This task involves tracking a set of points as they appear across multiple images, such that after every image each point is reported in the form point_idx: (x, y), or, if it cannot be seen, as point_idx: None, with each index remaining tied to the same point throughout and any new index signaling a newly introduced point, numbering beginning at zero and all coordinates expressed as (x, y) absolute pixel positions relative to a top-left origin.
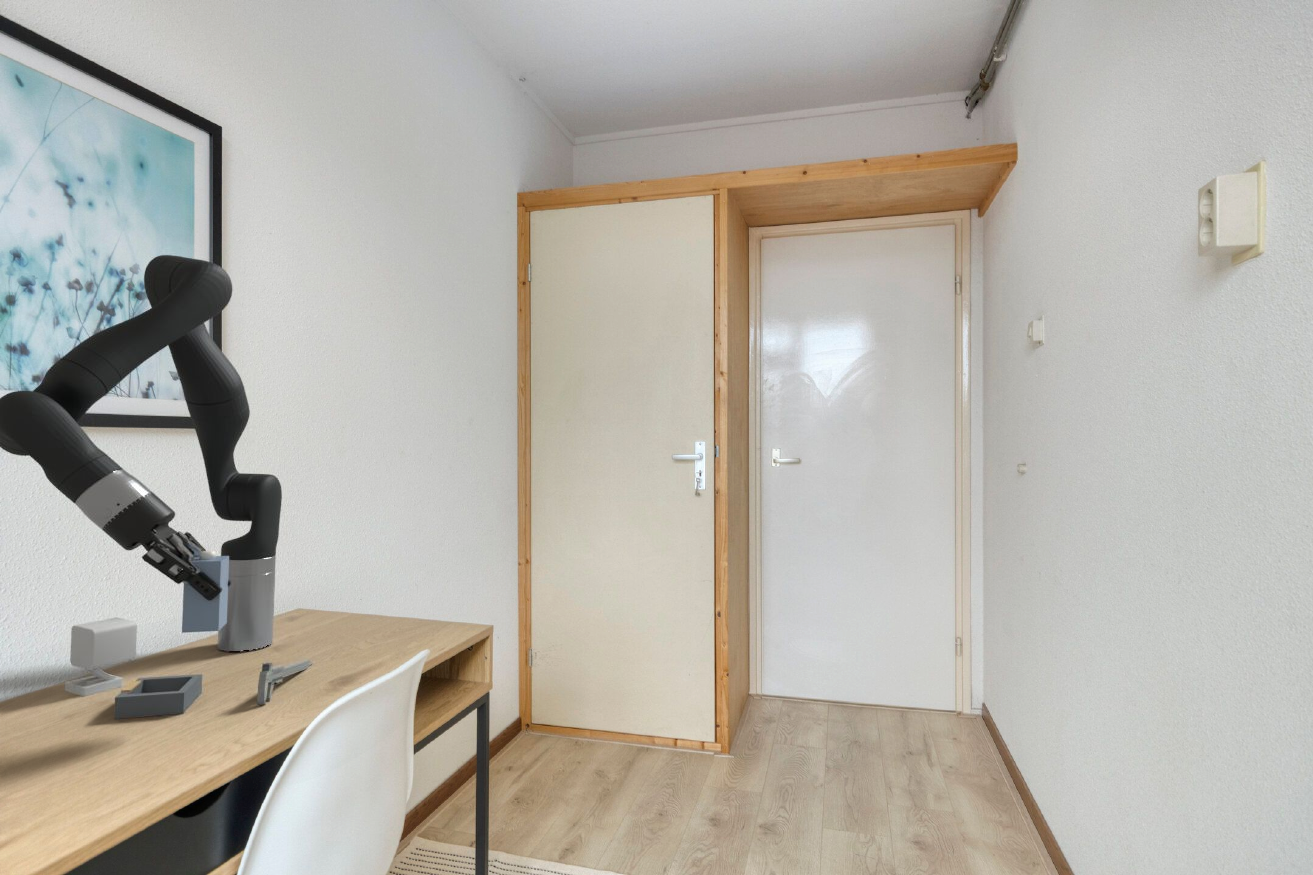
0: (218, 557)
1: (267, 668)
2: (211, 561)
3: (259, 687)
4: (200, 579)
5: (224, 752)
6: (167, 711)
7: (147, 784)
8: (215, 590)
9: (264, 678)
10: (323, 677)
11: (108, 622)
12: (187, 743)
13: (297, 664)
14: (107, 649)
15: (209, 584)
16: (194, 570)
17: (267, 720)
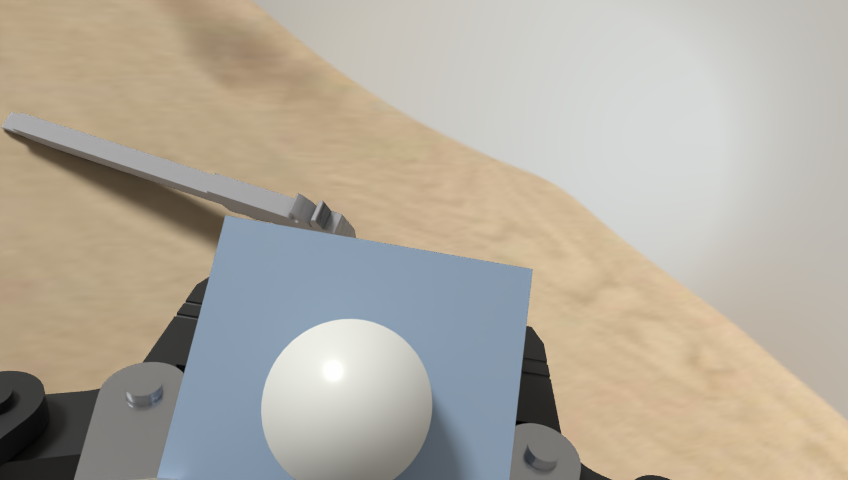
0: (303, 304)
1: (326, 211)
2: (520, 350)
3: None
4: (557, 425)
5: (640, 320)
6: None
7: (764, 459)
8: (531, 329)
9: (346, 225)
10: (176, 96)
11: None
12: (557, 406)
13: (117, 144)
14: None
15: (529, 365)
16: (641, 477)
17: (470, 236)
